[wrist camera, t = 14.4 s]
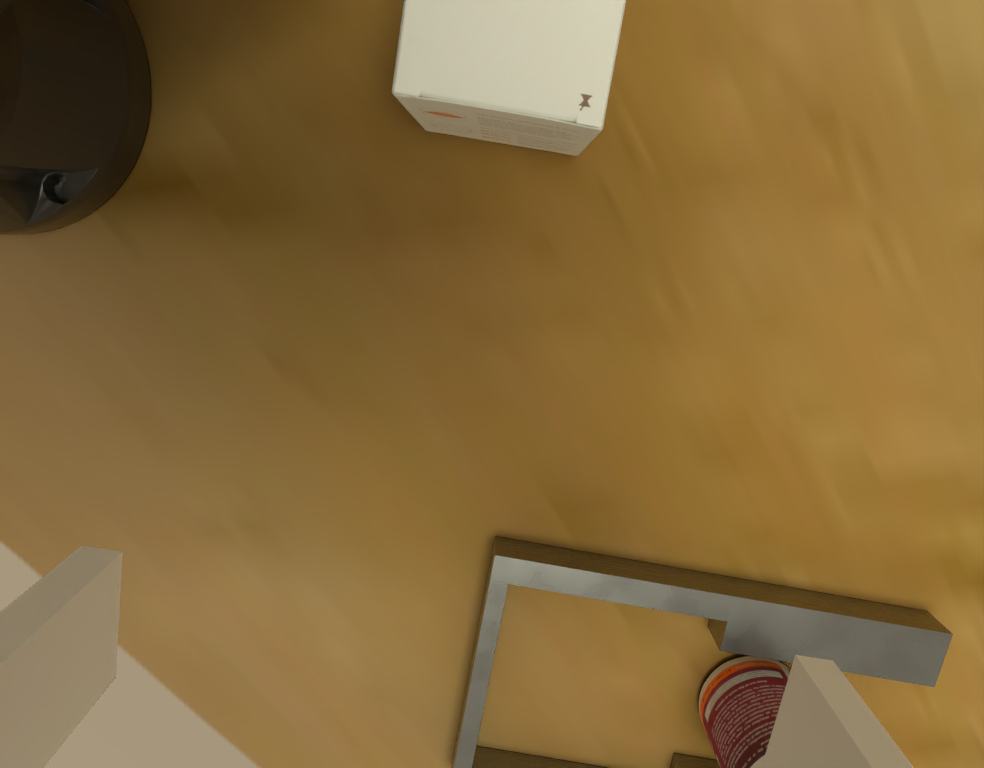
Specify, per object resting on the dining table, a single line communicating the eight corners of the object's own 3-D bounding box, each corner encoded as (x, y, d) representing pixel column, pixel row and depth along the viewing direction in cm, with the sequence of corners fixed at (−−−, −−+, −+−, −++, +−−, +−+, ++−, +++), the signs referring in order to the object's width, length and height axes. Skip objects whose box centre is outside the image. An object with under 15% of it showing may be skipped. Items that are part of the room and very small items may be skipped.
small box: (600, 41, 35) (640, -35, 25) (578, 159, 37) (607, 132, 26) (438, 12, 35) (411, -77, 25) (421, 132, 36) (388, 93, 26)
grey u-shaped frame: (451, 763, 44) (448, 794, 42) (495, 536, 41) (495, 555, 38) (853, 830, 44) (873, 864, 42) (927, 611, 41) (952, 634, 39)
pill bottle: (677, 720, 43) (734, 883, 32) (727, 634, 42) (804, 775, 31) (769, 759, 44) (856, 933, 33) (821, 676, 42) (930, 828, 32)
